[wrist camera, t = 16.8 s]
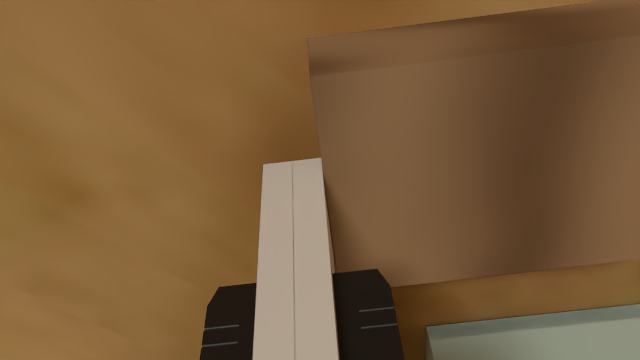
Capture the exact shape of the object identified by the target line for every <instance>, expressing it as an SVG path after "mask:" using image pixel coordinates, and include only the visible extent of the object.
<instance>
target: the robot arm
mask: <svg viewBox="0 0 640 360" xmlns="http://www.w3.org/2000/svg"><path fill="white" fill-rule="evenodd" d="M204 328H205V331H204V333H203V340H202V349H201V354H200V360H404V356H403V350H402V345H401V340H400V335H399V330H398V326H397V319H396V314H395V310H394V304H393V298H392V293H391V288H390V285H389V283H388V282H387V281H386V279H385V278H384V277H383V275H382V274H381V273H380V272H379V270H378V269H368V270H359V271H350V272H341V273H335V269H334V258H333V247H332V236H331V228H330V221H329V213H328V205H327V198H326V190H325V182H324V175H323V168H322V161H321V158H315V159H306V160H298V161H289V162H280V163H271V164H263V180H262V198H261V216H260V234H259V252H258V270H257V283H252V284H242V285H233V286H224V287H219V288H218V290H217V291H216V293H215V295H214V296H213V298H212V299H211V301H210V303H209V304H208V306H207V312H206V319H205V326H204Z"/></svg>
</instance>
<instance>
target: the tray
mask: <svg viewBox="0 0 640 360" xmlns="http://www.w3.org/2000/svg"><path fill="white" fill-rule="evenodd" d="M426 360H640V304H635V305H626V306H616V307H607V308H597V309H588V310H578V311H569V312H559V313H550V314H540V315H531V316H522V317H512V318H503V319H493V320H484V321H474V322H465V323H455V324H446V325H437V326H427V327H426Z"/></svg>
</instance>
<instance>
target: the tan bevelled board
mask: <svg viewBox="0 0 640 360" xmlns="http://www.w3.org/2000/svg"><path fill="white" fill-rule="evenodd" d="M307 43H308V57H309V71H310V81H311V89H312V96H313V103H314V110H315V117H316V125H317V132H318V139H319V146H320V154H321V161H322V168H323V175H324V182H325V190H326V197H327V204H328V211H329V218H330V226H331V233H332V240H333V247H334V254H335V262H336V269H337V273H341V272H350V271H359V270H368V269H378V270H379V272H380V273H381V274H382V275H383V277H384V278H385V279H386V281H387V282H388V283H389V285H390V288H391V287H400V286H409V285H418V284H426V283H435V282H444V281H453V280H462V279H471V278H479V277H488V276H497V275H506V274H515V273H524V272H532V271H541V270H550V269H559V268H568V267H576V266H585V265H594V264H603V263H612V262H621V261H629V260H638V259H640V0H605V1H597V2H589V3H582V4H574V5H566V6H558V7H550V8H542V9H535V10H527V11H519V12H511V13H503V14H495V15H487V16H480V17H472V18H464V19H456V20H448V21H440V22H433V23H425V24H417V25H409V26H401V27H393V28H385V29H378V30H370V31H362V32H354V33H346V34H338V35H331V36H323V37H315V38H307Z"/></svg>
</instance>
